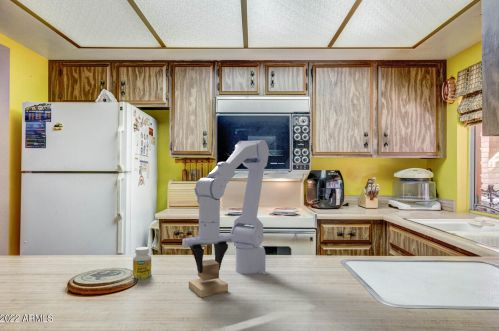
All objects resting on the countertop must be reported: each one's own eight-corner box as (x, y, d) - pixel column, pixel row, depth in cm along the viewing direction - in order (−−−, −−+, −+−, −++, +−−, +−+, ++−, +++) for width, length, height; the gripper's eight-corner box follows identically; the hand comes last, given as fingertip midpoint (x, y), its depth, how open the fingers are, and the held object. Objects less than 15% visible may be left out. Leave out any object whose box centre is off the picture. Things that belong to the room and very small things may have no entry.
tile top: (214, 281, 91) (214, 275, 91) (227, 290, 84) (228, 284, 84) (188, 287, 86) (188, 280, 86) (201, 297, 80) (201, 290, 80)
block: (212, 273, 88) (213, 259, 89) (218, 278, 85) (219, 263, 85) (197, 275, 86) (198, 261, 86) (203, 280, 82) (203, 265, 82)
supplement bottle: (148, 275, 99) (148, 245, 99) (153, 280, 94) (153, 248, 95) (130, 278, 96) (131, 247, 96) (135, 283, 92) (135, 251, 92)
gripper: (227, 217, 92) (227, 263, 92) (179, 220, 85) (178, 270, 85) (237, 221, 86) (237, 269, 86) (186, 225, 79) (186, 278, 79)
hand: (208, 270), depth 85 cm, fingers closed on block, 4 cm apart
